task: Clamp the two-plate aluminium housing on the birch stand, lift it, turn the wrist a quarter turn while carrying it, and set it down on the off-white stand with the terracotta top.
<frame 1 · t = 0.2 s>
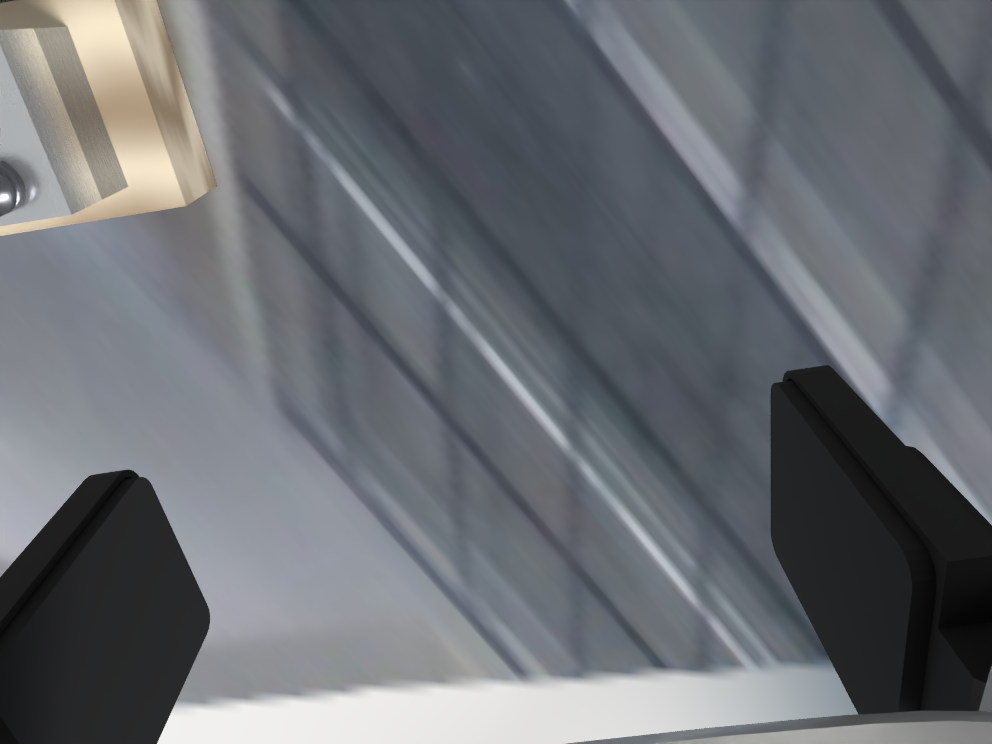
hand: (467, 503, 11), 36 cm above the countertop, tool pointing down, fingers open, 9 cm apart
stand a: (96, 107, 43), on the countertop
housing: (49, 119, 38), point 5 cm above the countertop, touching stand a
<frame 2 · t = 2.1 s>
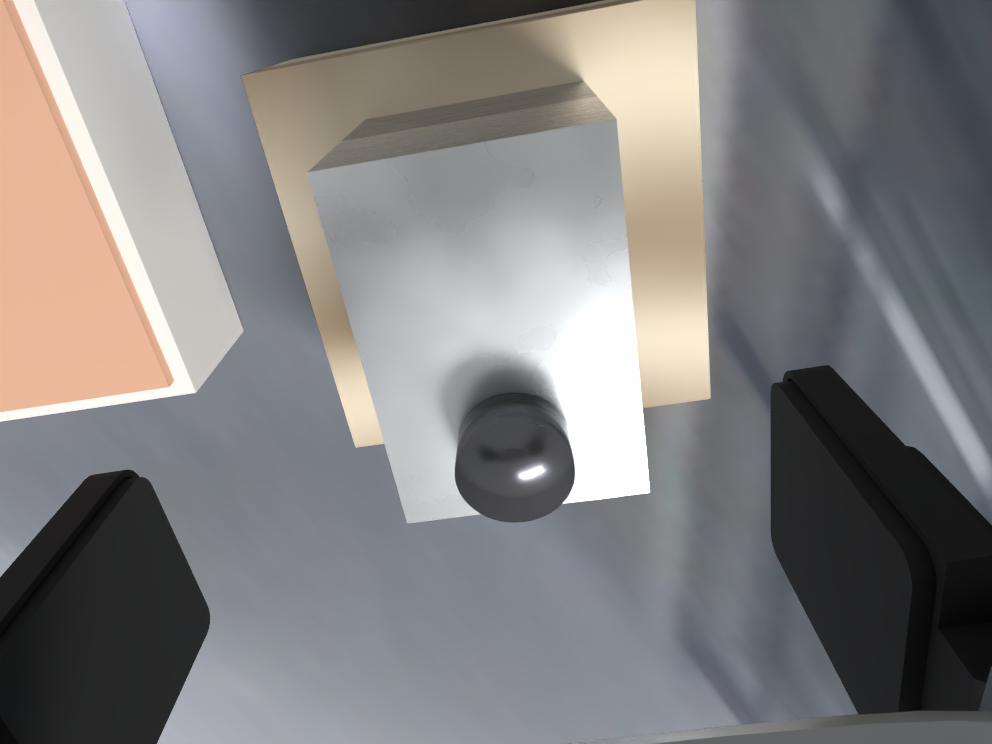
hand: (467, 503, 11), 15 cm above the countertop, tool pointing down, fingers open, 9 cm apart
stand b: (13, 195, 24), on the countertop
stand a: (500, 205, 24), on the countertop
housing: (499, 253, 20), point 5 cm above the countertop, touching stand a
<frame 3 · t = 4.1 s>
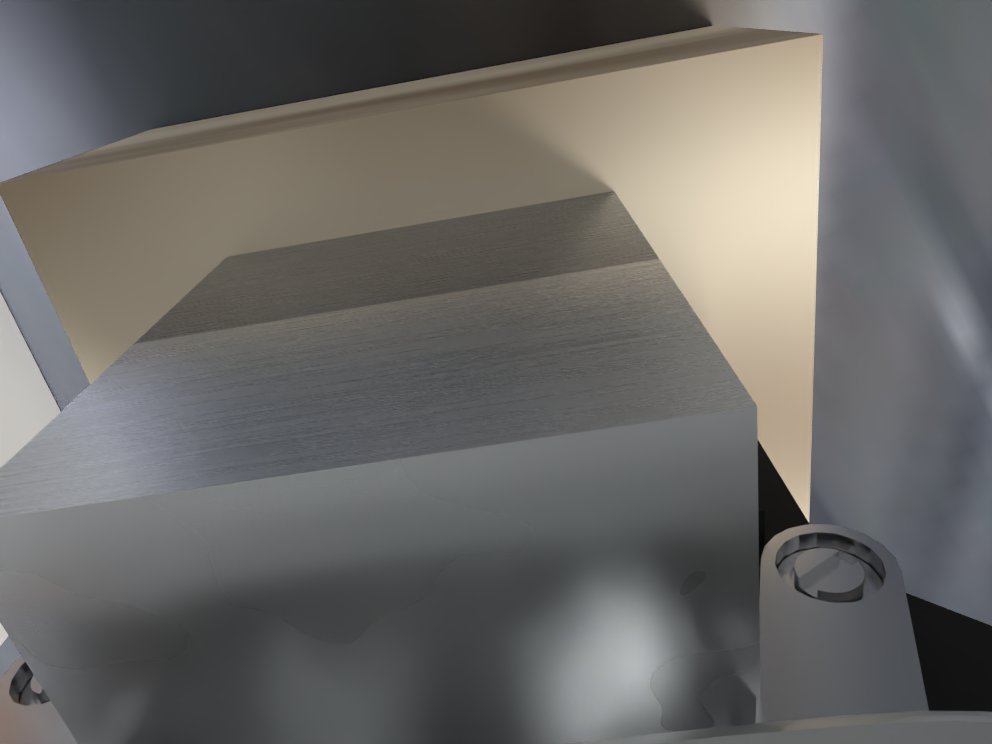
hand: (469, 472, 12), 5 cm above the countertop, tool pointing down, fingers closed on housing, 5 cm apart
stand a: (476, 338, 16), on the countertop
housing: (469, 462, 12), point 5 cm above the countertop, touching gripper, stand a
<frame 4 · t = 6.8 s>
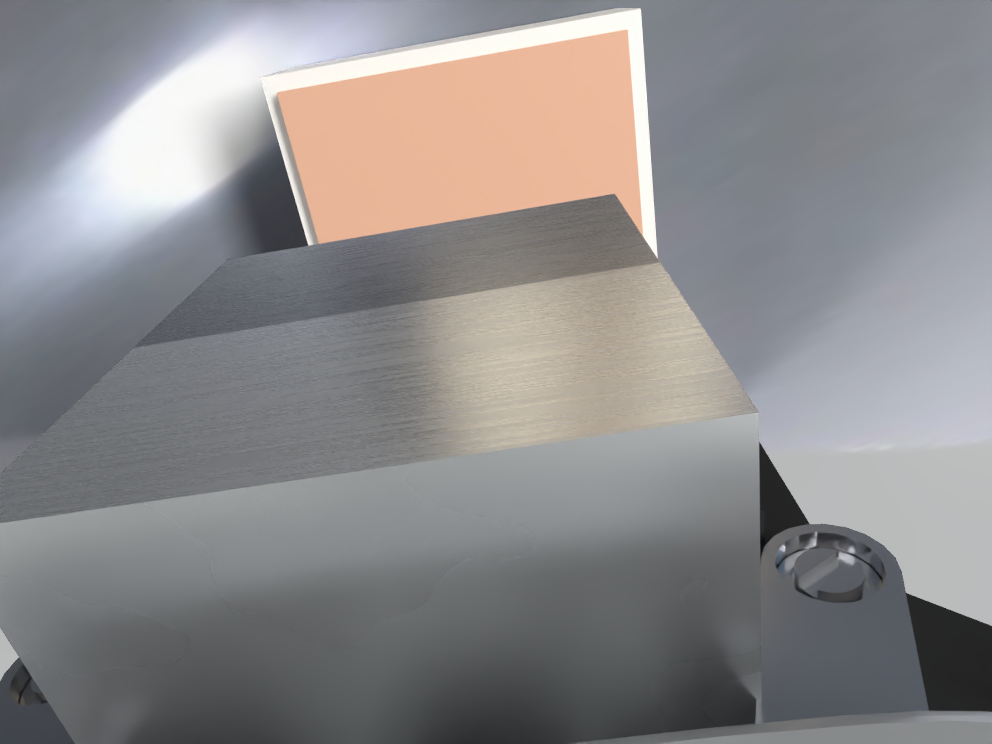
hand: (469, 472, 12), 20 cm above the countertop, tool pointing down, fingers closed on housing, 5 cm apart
stand b: (481, 199, 29), on the countertop
housing: (470, 464, 12), point 19 cm above the countertop, touching gripper
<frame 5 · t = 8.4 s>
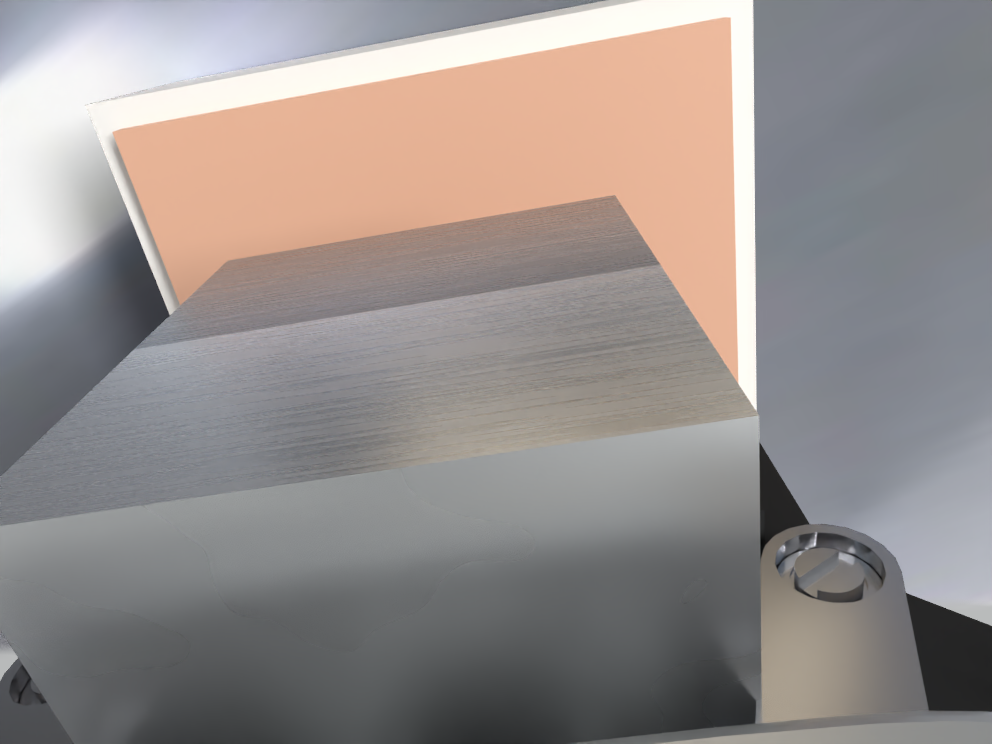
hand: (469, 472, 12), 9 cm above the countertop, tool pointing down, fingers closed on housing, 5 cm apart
stand b: (474, 276, 20), on the countertop
housing: (470, 465, 12), point 9 cm above the countertop, touching gripper
when the fingers open (7 cm above the countertop, at t = 9.6 s): housing drops 2 cm, resting on stand b.
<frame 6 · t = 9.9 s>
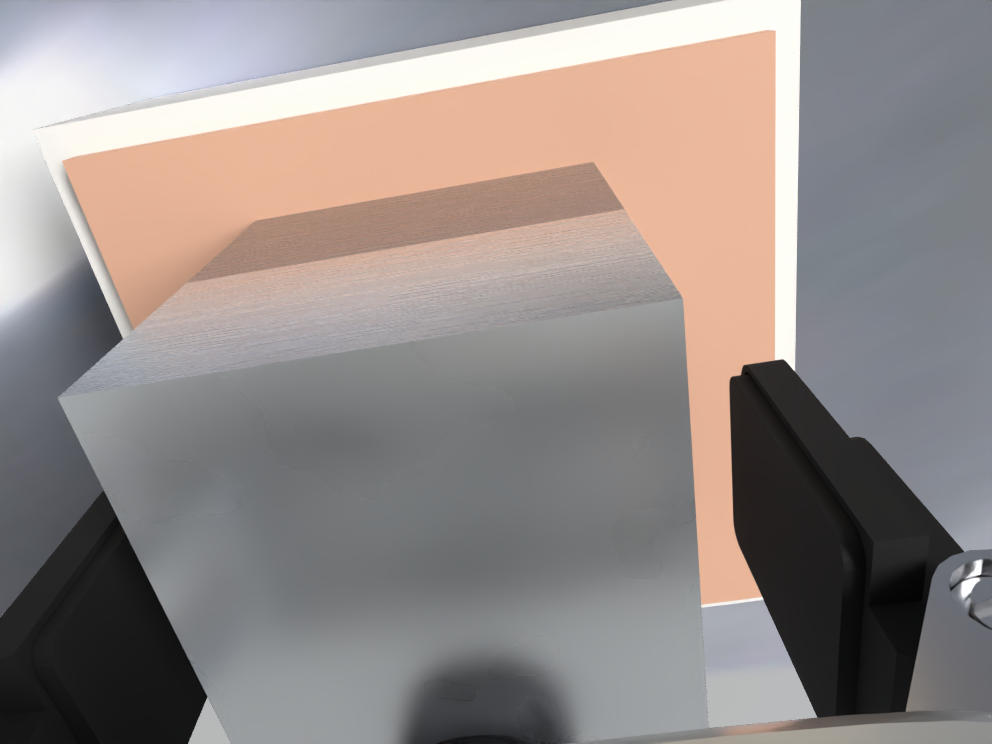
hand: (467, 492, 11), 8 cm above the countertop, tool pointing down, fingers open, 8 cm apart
stand b: (477, 310, 18), on the countertop
housing: (468, 407, 13), point 5 cm above the countertop, touching stand b
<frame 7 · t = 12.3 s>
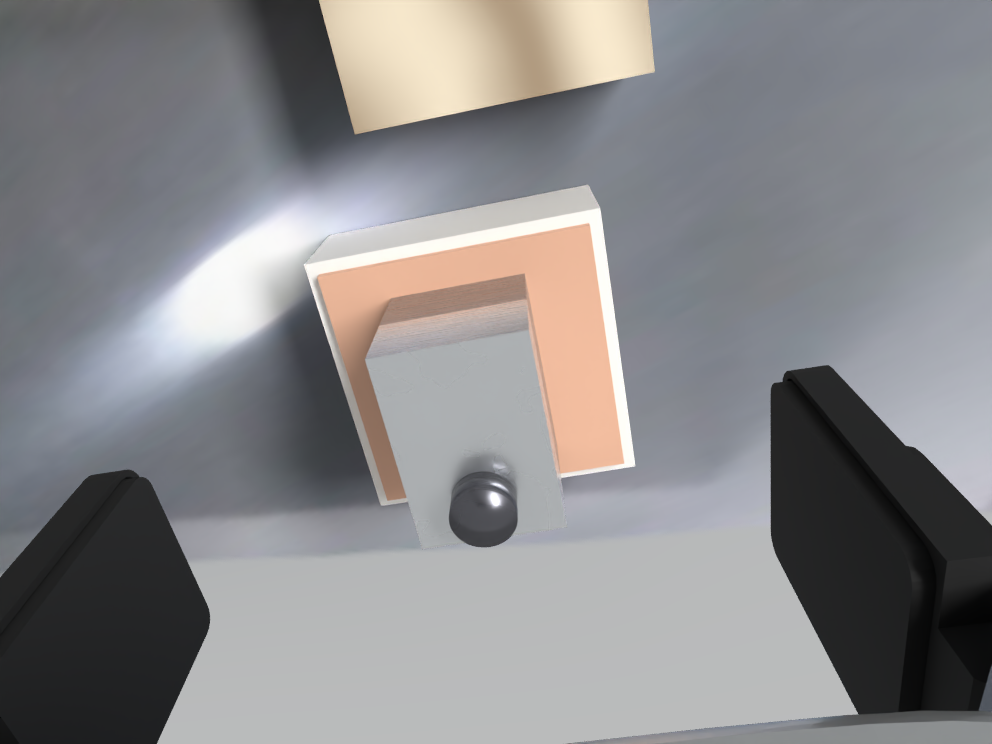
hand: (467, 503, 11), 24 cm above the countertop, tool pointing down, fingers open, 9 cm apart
stand b: (483, 331, 35), on the countertop
housing: (477, 374, 31), point 5 cm above the countertop, touching stand b
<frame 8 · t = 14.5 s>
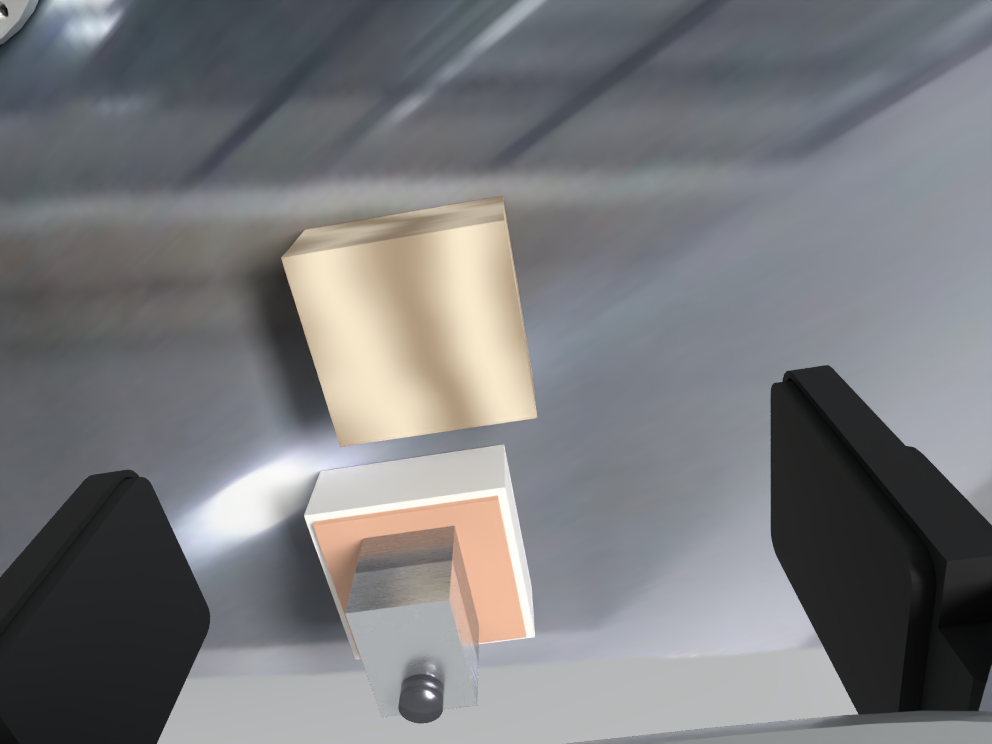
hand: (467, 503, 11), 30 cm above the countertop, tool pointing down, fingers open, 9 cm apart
stand b: (430, 531, 49), on the countertop
stand a: (424, 306, 42), on the countertop
housing: (423, 582, 45), point 5 cm above the countertop, touching stand b
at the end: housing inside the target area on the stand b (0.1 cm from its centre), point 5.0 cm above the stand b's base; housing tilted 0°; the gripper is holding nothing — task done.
